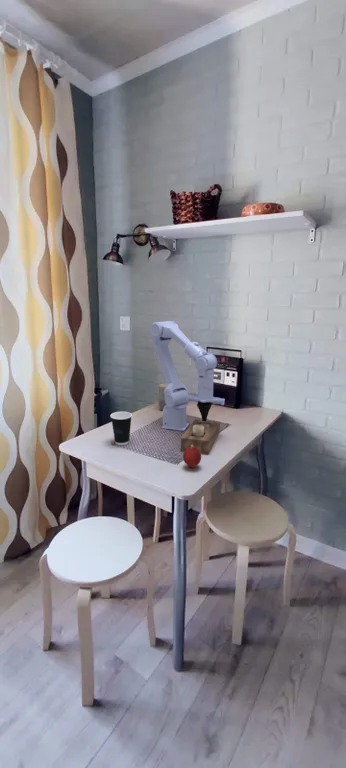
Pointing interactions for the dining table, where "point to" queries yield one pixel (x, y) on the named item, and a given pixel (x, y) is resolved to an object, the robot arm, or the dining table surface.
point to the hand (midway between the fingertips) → (204, 420)
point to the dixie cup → (121, 427)
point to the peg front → (198, 430)
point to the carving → (161, 396)
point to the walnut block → (204, 442)
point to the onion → (192, 456)
